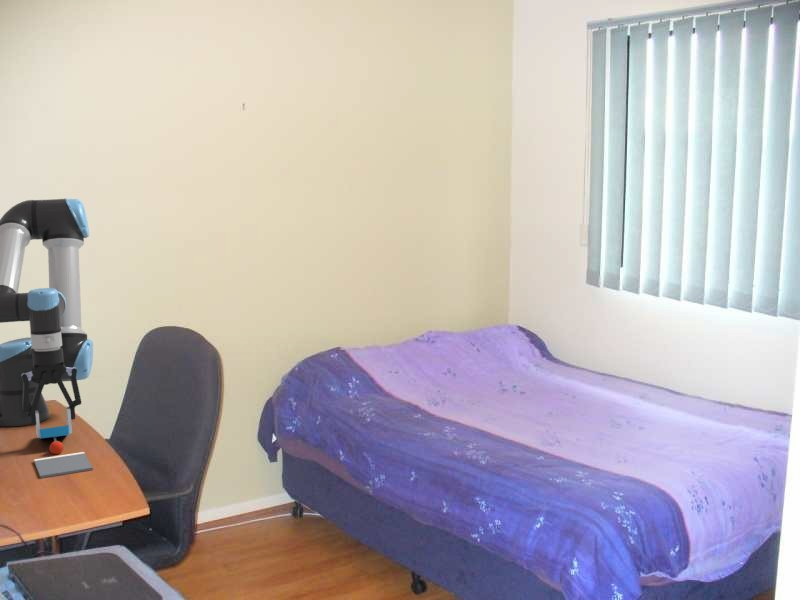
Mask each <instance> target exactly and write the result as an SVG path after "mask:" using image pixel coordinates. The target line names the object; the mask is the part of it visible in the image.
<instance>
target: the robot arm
mask: <svg viewBox="0 0 800 600" xmlns="http://www.w3.org/2000/svg"><path fill="white" fill-rule="evenodd" d="M88 223H89V222H88V218H87V213H86V210H85V206H84V203H83V202H82V201H81V200H80V199H78V198H57V199H35V200H34V199H29V200H24V201H21V202H19V203H17V204H15V205H13V206H12V207H10V209H8V210H7V211H5V213H4V214H3V215H2V216H1V217H0V324H1V323H2V324H3V323H16V322H29V327H30V328H29V329H30V330H29V331H30V337H21V338H17V339H13V340H8V341H5V342H2V343H0V427H20V426H22V427H23V426H29V425H32V426H35V430H36V431H35V433H36V436H37V437H36V438H37V439H40V437H41V434H40V429H41V425H40V424H41V423H42V422H44V421H46V420H48V419H49V418H50V409H49V407H48V404H47V402H46V400H45V398H44V396H43V393H42V392H43V389H44V387H45V386H47V385H50V384H51V385H52V384H55V385H56V384H57V386H58V387H59V389H60V391H61V394H62V395H63V397H64V398H65V401H66V403H67V404H68V406H65V411H66V426H68V427H69V434H73V427H72V420H75V419H76V410H75V408H76V407H77V406H80V405H81V404H82V399H81V394H80V389H79V386H78V384H79V383H78V381H82V380H83V381H84V380H86V379H88V378H89V376H90V375H91V372H92V367H93V359H94V342H93V340H92V339H90V338H88V333H86V331H85V330H83V328H82V307H81V306H82V305H81V280H80V275H81V274H80V251H79V250H80V249H81V248H82V247H83V246H84V244H85V239H87V238H89V236H90V233H89V232H90V231H89V224H88ZM32 240H42V241H41V242H42V246H43V247H44V248H46V249H47V255H48V256H47V257H48V259H47V261H48V262H47V263H48V286H49V287H43V288H42V287H41V288H35V289H34V288H33V289H31V290H29V291H28V292H19V287H20V282H21V275H22V269H23V265H24V258H25V251H26V247H27V246H28V245H29V244H30V242H31V241H32ZM64 382H70V383H71V387H72V392H73V397H74V400H72V398H71V396H70V394H69V392H68V390H67V388H66V386H65V384H64Z"/></svg>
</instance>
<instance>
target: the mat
mask: <svg viewBox="0 0 800 600" xmlns="http://www.w3.org/2000/svg"><path fill="white" fill-rule="evenodd" d="M33 463H34V465H35V468H36V471H37V473H38V475H39V478H40V479H43V478H52V477H56V476H63V475H70V474H75V473H82V472H89V471H93V470H94V469H93V466H92V464H91V462H90V461H89V459H88V456H87V455H86V453H85V452H84V451H81V452H74V453H73V452H72V453H67V454H63V455H62V454H59V455H55V456H54V455H53V456H49V457H48V456H47V457H41V458H36V459H33Z"/></svg>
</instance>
